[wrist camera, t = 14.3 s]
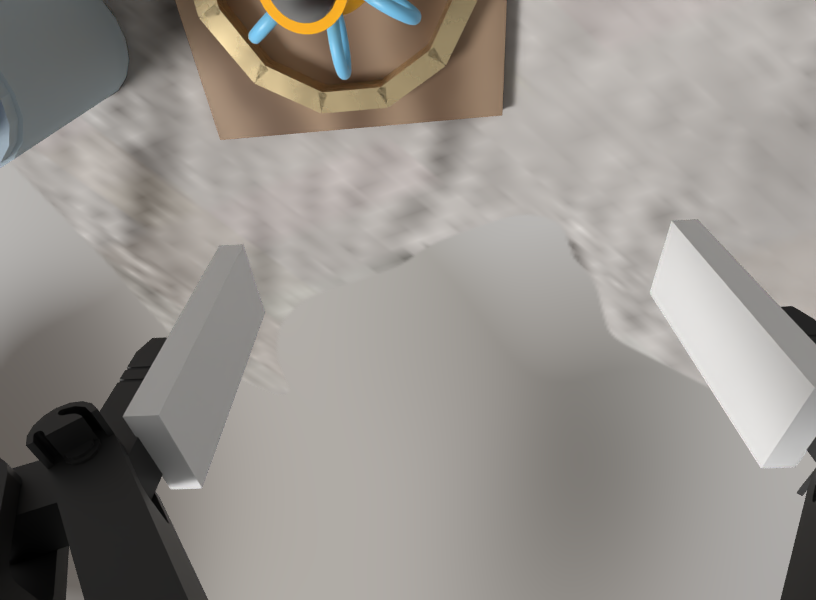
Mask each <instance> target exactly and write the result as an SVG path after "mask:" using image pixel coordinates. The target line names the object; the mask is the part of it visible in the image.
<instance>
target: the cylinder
mask: <svg viewBox="0 0 816 600" xmlns="http://www.w3.org/2000/svg"><path fill="white" fill-rule="evenodd" d="M260 1H261V3H262V5H263V7H264V8H265V10H266V11H267V12H266V13H265V14H264V15H263V16H262V17H261V18H260V20H259V21H258V22H257V23H256V24H255V25H254V27H253V28H252V29H251V30H250V32H249V35H248V36H249V40H250V41H251V42H252V43H254V44H258V43H260V42H261V41H262V40H263V39H264V38H265V37H266V36H267V35H268V34H269V32H270V31H271V30H272V29H273V28H274V27H275V26H276V25H277V24H279V25H281V26H282V27H284V28H286V29H288V30H290V31H292V32H295V33H299V34H316V33H319V32H322V31H324V30H326V29H327V34H328V41H329V46H330V51H331V56H332V60H333V64H334V67H335V70H336V73H337V75H338V76H339V78H341V79H342V80H347V79H349V77H350V76H351V56H350V48H349V41H348V35H347V30H346V25H345V21H344V17H343V15H346V14H349V13H351V12H353V11H355V10H356V9H358V8H359V7H360V6H361V5H362V4H363V3H364V2H365V1H366V2H367V3H368V4H370V5H371V6H373V7H374V8H376V9H378V10H379V11H381V12H383V13H385V14H386V15H388V16H390V17H392V18H394V19H396V20H398V21H401V22H403V23H406V24H409V25H417V24H418V23H419V22H420V21H421V13H420V11H419V10H418V9H417V8H416V7H415V6H414V5H413V4H411V3H410V2H409V1H407V0H260Z"/></svg>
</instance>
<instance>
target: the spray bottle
mask: <svg viewBox="0 0 816 600" xmlns="http://www.w3.org/2000/svg"><path fill="white" fill-rule="evenodd" d="M128 64H129V56H128V50H127V45H126V39H125V37H124V35H123V33H122V31H121V28H120V26H119V24H118V22H117V20H116V18H115V17H114V15H113V14H112V13H111V11H110V10H109V9H108V8H107V6H106V5H105V4H104V2H103V1H102V0H0V168H1V167H2V166H4V165H6V164H7V163H9V162H10V161H12V160H13V159H15V158H16V157H18V156H19V155H21V154H22V153H24V152H25V151H27V150H28V149H30V148H32V147H33V146H35V145H36V144H38V143H39V142H41V141H42V140H44V139H45V138H47V137H48V136H50V135H51V134H53V133H54V132H56V131H57V130H59V129H60V128H62V127H63V126H65V125H66V124H68V123H69V122H71V121H72V120H74V119H76V118H77V117H79V116H80V115H82V114H83V113H85V112H86V111H88V110H89V109H91V108H92V107H94V106H95V105H97V104H98V103H100V102H101V101H103V100H104V99H106V98H107V97H109V96H110V95H112V94H113V93H115V92H116V91H118V90H119V88H120V87H121V85H122V84H123V82H124V80H125V79H126V77H127V71H128Z"/></svg>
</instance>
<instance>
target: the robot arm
mask: <svg viewBox="0 0 816 600" xmlns="http://www.w3.org/2000/svg"><path fill="white" fill-rule="evenodd" d="M650 294H651V296H652V298H653V299H654V301H655V302H656V304H657V305H658V307H659V309H660V310H661V312H662V313H663V315H664V316H665V318H666V320H667V321H668V323H669V324H670V326H671V327H672V329H673V331H674V332H675V334H676V335H677V337H678V338H679V340H680V342H681V343H682V345H683V346H684V348H685V349H686V351H687V353H688V354H689V356H690V357H691V359H692V360H693V362H694V364H695V365H696V367H697V368H698V370H699V371H700V373H701V375H702V376H703V378H704V379H705V381H706V382H707V384H708V386H709V387H710V389H711V390H712V392H713V393H714V395H715V396H716V398H717V400H718V401H719V403H720V404H721V406H722V408H723V409H724V411H725V412H726V414H727V415H728V417H729V419H730V420H731V422H732V423H733V425H734V426H735V428H736V430H737V431H738V433H739V434H740V436H741V437H742V439H743V441H744V442H745V444H746V445H747V447H748V449H749V450H750V452H751V453H752V455H753V456H754V458H755V460H756V461H757V463H758V464H759V466H760V467H761V468H785V467H796V466H797V464H798V463H799V462H800V460H801V459H802V458H803V456H804V455H805V454H806V452H807V451H808V452H809V454H810V455H811V456H812V457H813V459H814V460H815V462H816V321H815V320H814V319H813V318H811V317H810V316H808V315H806V314H805V313H803V312H801V311H800V310H798V309H796V308H794V307H793V306H787V307H780V306H779V305H778V304H777V303H776V302H775V301H774V300H773V299H772V297H771V296H770V295H769V294H768V293H767V292H766V291H765V290H764V289H763V288H762V287H761V286H760V285H759V284H758V283H757V282H756V281H755V279H754V278H753V277H752V276H751V275H750V274H749V273H748V272H747V271H746V270H745V269H744V268H743V267H742V266H741V265H740V264H739V263H738V262H737V260H736V259H735V258H734V257H733V256H732V255H731V254H730V253H729V252H728V251H727V250H726V249H725V248H724V247H723V246H722V245H721V244H720V242H719V241H718V240H717V239H716V238H715V237H714V236H713V235H712V234H711V233H710V232H709V231H708V230H707V229H706V228H705V227H704V226H703V224H702V223H701V222H700V221H699V220H698V219H694V220H676V221H671V225H670V228H669V231H668V235H667V238H666V241H665V244H664V248H663V251H662V254H661V258H660V261H659V264H658V267H657V271H656V274H655V277H654V281H653V284H652V287H651V291H650ZM264 314H265V310H264V307H263V304H262V301H261V298H260V295H259V291H258V288H257V285H256V282H255V279H254V276H253V273H252V269H251V266H250V263H249V260H248V257H247V254H246V251H245V247H244V244H243V245H225V246H219V248H218V249H217V251H216V253H215V255H214V256H213V258H212V260H211V262H210V263H209V265H208V267H207V269H206V270H205V272H204V274H203V276H202V278H201V279H200V281H199V283H198V285H197V286H196V288H195V290H194V292H193V293H192V295H191V297H190V299H189V300H188V302H187V304H186V306H185V307H184V309H183V311H182V313H181V315H180V316H179V318H178V320H177V322H176V323H175V325H174V327H173V329H172V330H171V332H170V334H169V336H168V337H167V338H152V339H151V340H150V341H149V342H147V343H146V344H145V345H144V346H143V347H142V348H141V349H140V350H138V351H137V352H136V354H135V355H134V357H133V359H132V360H131V362H130V364H129V365H128V367H127V370H125V372H124V373H123V375H122V377H121V378H120V382H119V383H117V385H116V386H115V388H114V389H113V391H112V393H111V394H110V396H109V398H108V399H107V401H106V402H105V404H104V405H103V407H102V409H101V410H100V412H99V411H98V409H97V408H96V407H95V406H94V405H93V404H92V403H87V402H83V401H82V402H73V403H68V404H66V405H63V406H60V407H58V408H56V409H54V410H52V411H51V412H49V413H48V414H46V415H44V416H43V417H42V418H41V419H40V420H39V421H38V422H37V423H36V424H35V425H33V427H32V429H31V430H30V432H29V434H28V435H27V441H26V446H27V447H28V448H29V449H30V450H31V452H32V453H33V454H34V455H35V456H36V457H37V458H38V459H39V461H36V462H33V463H29V464H26V465H22V466H19V467H16V468H11V467H10V466H9V465H8V464H7V463H6V462H5V461H3V460H2V459H1V458H0V600H66V588H67V570H68V554H69V546H70V550H71V554H72V557H73V561H74V564H75V568H76V571H77V575H78V578H79V581H80V585H81V589H82V592H83V596H84V600H208V598H207V596H206V594H205V592H204V590H203V588H202V586H201V584H200V581H199V579H198V577H197V575H196V573H195V571H194V569H193V567H192V565H191V562H190V560H189V558H188V556H187V554H186V552H185V550H184V548H183V546H182V544H181V542H180V539H179V537H178V535H177V533H176V531H175V529H174V527H173V525H172V522H171V520H170V518H169V516H168V514H167V512H166V510H165V508H164V506H163V503H162V501H161V499H160V497H159V496H158V494H157V493H156V492H155V491H156V488H157V486H158V484H159V482H160V479H161V477H163V478H164V480H165V481H166V483H167V484H168V486H169V487H170V489H193V488H202V487H203V484H204V481H205V478H206V476H207V473H208V470H209V467H210V464H211V462H212V459H213V456H214V453H215V450H216V447H217V445H218V442H219V439H220V436H221V434H222V431H223V428H224V425H225V423H226V420H227V417H228V414H229V411H230V409H231V406H232V403H233V400H234V398H235V394H236V392H237V389H238V386H239V384H240V381H241V378H242V375H243V372H244V370H245V367H246V364H247V361H248V359H249V356H250V353H251V350H252V347H253V345H254V342H255V339H256V336H257V333H258V331H259V328H260V325H261V322H262V320H263V317H264ZM806 491H807V494H806V498H805V502H804V506H803V510H802V514H801V518H800V522H799V526H798V531H797V535H796V539H795V543H794V547H793V551H792V555H791V559H790V563H789V567H788V571H787V575H786V580H785V583H784V588H783V592H782V596H781V600H816V468H815V470H814V471H813V472H812V474H811V475H810V476H809V477H808V479H807V480H806V481H805V482H804V484H803V485H802V486H801V488H800V489H799V490H798V492H797V493H798V494H799V495H801V496H803V495H804V493H805V492H806Z"/></svg>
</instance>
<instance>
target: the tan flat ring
mask: <svg viewBox="0 0 816 600" xmlns="http://www.w3.org/2000/svg"><path fill="white" fill-rule="evenodd" d="M476 2H477V0H448V2H447V4H446V6H445V8H444V10H443V13H442V15H441V17H440V19H439V21H438V24H437V26H436V28H435V30H434V33H433V35H432V37H431V39H430V41H429V44H428V45H427V46H425V47H424V48H423V49H421V50H420V51H419V52H417V53H416V54H415V55H413V56H412V57H411V58H409V59H408V60H407V61H405V62H404V63H403V64H401V65H400V66H399V67H397V68H396V69H395V70H393V71H392V72H391V73H390V74H388V75H387V76H386V77H384V78H383V79H382V80H373V81H362V82H351V83H340V84H329V85H325V84H323V83H321V82H319V81H317V80H314V79H312V78H310V77H308V76H306V75H304V74H302V73H300V72H297V71H295V70H293V69H291V68H289V67H287V66H285V65H283V64H280V63H278V62H276V61H274V60H272V59H270V57H269V56H268V55H267V54H266V52H265V51H264V50H263V49H262V47H261V46H260V45H259V44H254V43H252V42H251V41H250V40H249V36H248V35H249V31H248V30H247V29H246V27H245V26H244V25H243V24H242V22H241V21H240V20H239V19H238V17H237V16H236V15H235V14H234V12H233V11H232V10H231V9H230V7H229V6H228V5H227V2H226V0H194V3H195V7H196V10H197V13H198V17H200V18H199V19H200V20H201V21H202V22H203V23H204V24H205V26H206V27H207V28H208V29H209V30H210V32H211V33H212V34H213V35H214V36H215V37H216V39H217V40H218V41H219V42H220V43H221V45H222V46H223V47H224V48H225V49H226V50H227V52H228V53H229V54H230V55H231V56H232V58H233V59H234V60H235V61H236V62H237V64H238V65H239V66H240V67H241V68H242V69H243V71H244V72H245V73H246V74H247V75H248V77H249V78H250V79H251V80H252V81H253V82H255V81H256V82H255V84H257V85H259V86H261V87H263V88H266V89H268V90H270V91H272V92H274V93H277V94H279V95H281V96H283V97H285V98H288V99H290V100H292V101H294V102H297V103H299V104H301V105H303V106H305V107H308V108H310V109H312V110H314V111H316V112H319V113H321V112H322V114H323V113H334V112H345V111H356V110H368V109H379V108H388V107H390V106H391V105H393V104H394V103H395V102H397V101H398V100H399V99H401V98H402V97H404V96H405V95H406V94H408V93H409V92H410V91H412V90H413V89H415V88H416V87H417V86H419V85H420V84H422V83H423V82H424V81H426V80H427V79H428V78H430V77H431V76H433V75H434V74H435V73H437V72H438V71H439V70H441V69H442V68H444V67H445V65H446V64H447V62H448V60H449V58H450V56H451V54H452V52H453V50H454V48H455V46H456V44H457V42H458V40H459V37H460V35H461V33H462V31H463V29H464V27H465V25H466V23H467V21H468V19H469V17H470V15H471V13H472V11H473V8H474V6H475V4H476Z"/></svg>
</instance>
